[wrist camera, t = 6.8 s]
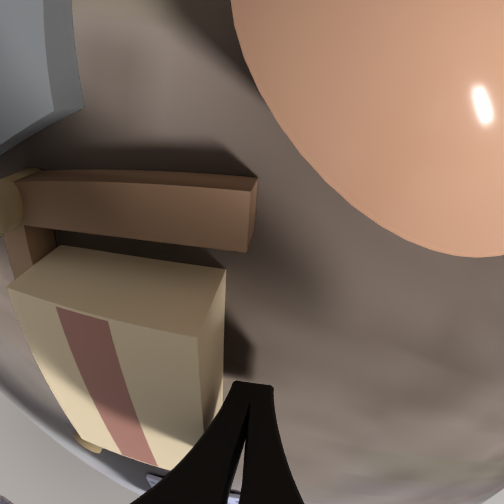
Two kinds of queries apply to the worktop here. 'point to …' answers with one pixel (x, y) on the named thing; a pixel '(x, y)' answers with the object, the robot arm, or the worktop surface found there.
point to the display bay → (124, 212)
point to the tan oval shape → (392, 107)
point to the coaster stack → (36, 68)
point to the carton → (127, 347)
